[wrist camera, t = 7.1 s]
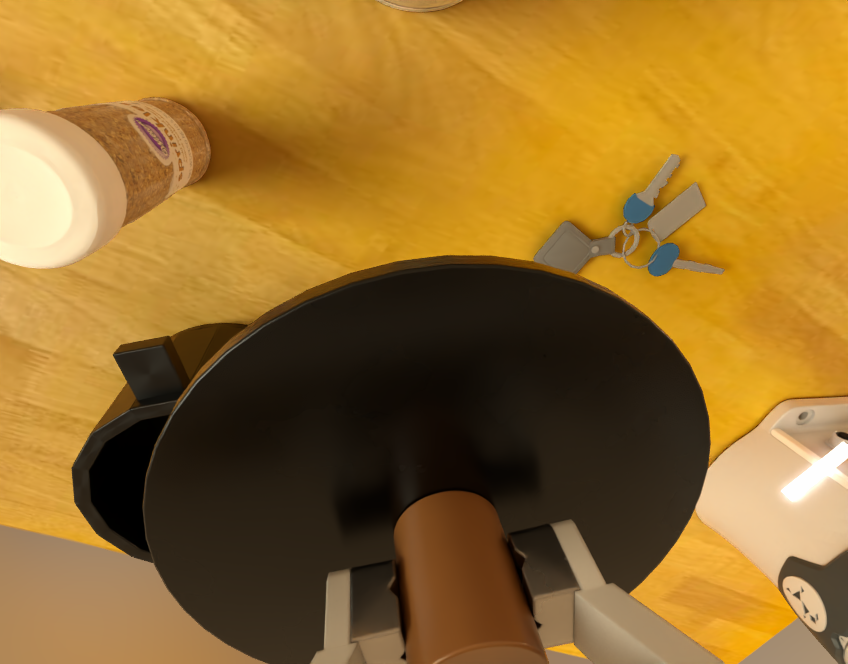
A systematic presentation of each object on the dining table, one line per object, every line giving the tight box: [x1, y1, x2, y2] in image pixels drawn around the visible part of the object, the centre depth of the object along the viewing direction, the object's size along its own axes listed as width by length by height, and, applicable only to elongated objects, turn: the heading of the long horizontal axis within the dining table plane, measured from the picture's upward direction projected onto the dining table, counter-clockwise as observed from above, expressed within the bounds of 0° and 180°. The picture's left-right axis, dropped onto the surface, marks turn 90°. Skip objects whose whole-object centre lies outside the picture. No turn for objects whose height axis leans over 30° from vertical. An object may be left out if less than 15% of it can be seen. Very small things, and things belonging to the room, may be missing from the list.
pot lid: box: [143, 255, 711, 664], centre depth 11 cm, size 14×14×5 cm
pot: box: [72, 323, 247, 563], centre depth 30 cm, size 13×18×8 cm
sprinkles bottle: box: [0, 97, 211, 269], centre depth 20 cm, size 5×5×14 cm
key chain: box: [534, 154, 724, 276], centre depth 31 cm, size 14×8×1 cm, turn 90°
